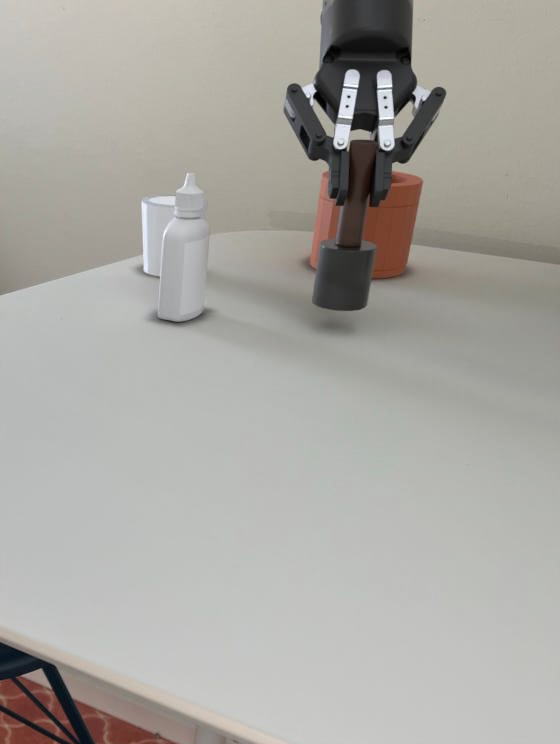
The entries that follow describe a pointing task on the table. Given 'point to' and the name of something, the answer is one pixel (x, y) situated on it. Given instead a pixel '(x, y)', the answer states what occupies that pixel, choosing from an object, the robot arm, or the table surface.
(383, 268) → the jar
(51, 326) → the table surface
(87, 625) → the table surface
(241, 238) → the table surface
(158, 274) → the white cup
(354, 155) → the brush
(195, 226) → the eye dropper bottle
